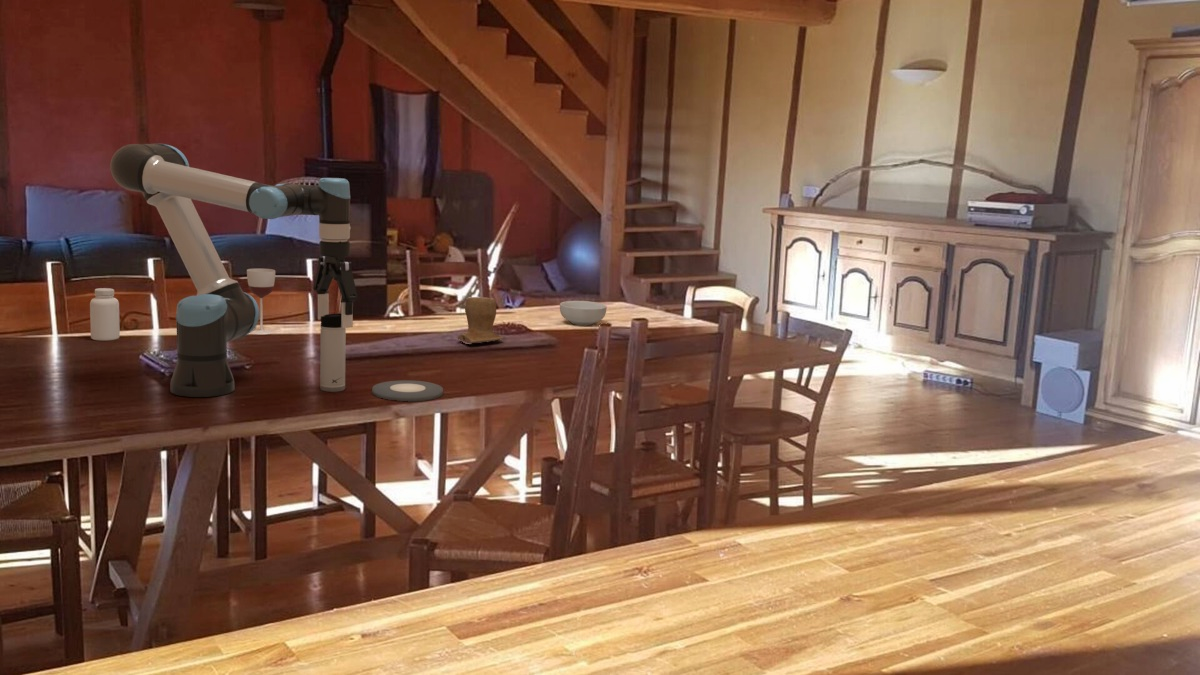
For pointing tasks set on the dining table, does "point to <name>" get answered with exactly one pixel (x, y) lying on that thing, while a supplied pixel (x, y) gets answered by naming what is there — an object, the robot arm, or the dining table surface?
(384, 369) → the dining table surface
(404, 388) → the grey flat disc
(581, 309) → the cereal bowl
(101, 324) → the pill bottle
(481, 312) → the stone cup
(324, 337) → the travel mug
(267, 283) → the wineglass
